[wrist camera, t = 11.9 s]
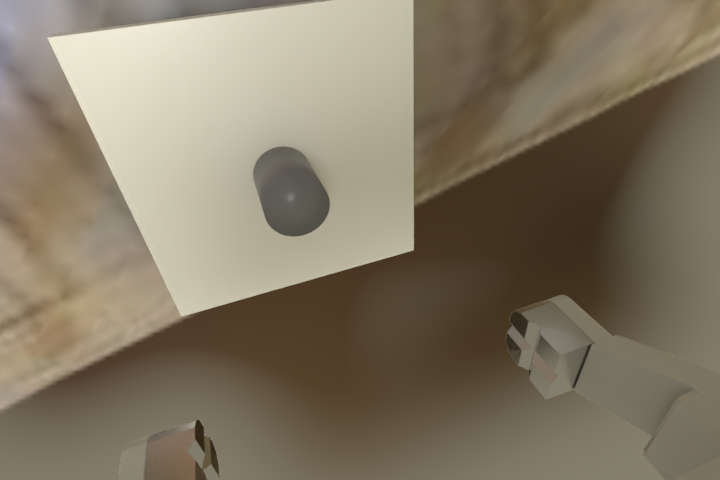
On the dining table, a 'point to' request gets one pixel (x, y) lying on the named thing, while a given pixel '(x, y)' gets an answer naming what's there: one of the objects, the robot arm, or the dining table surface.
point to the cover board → (256, 139)
